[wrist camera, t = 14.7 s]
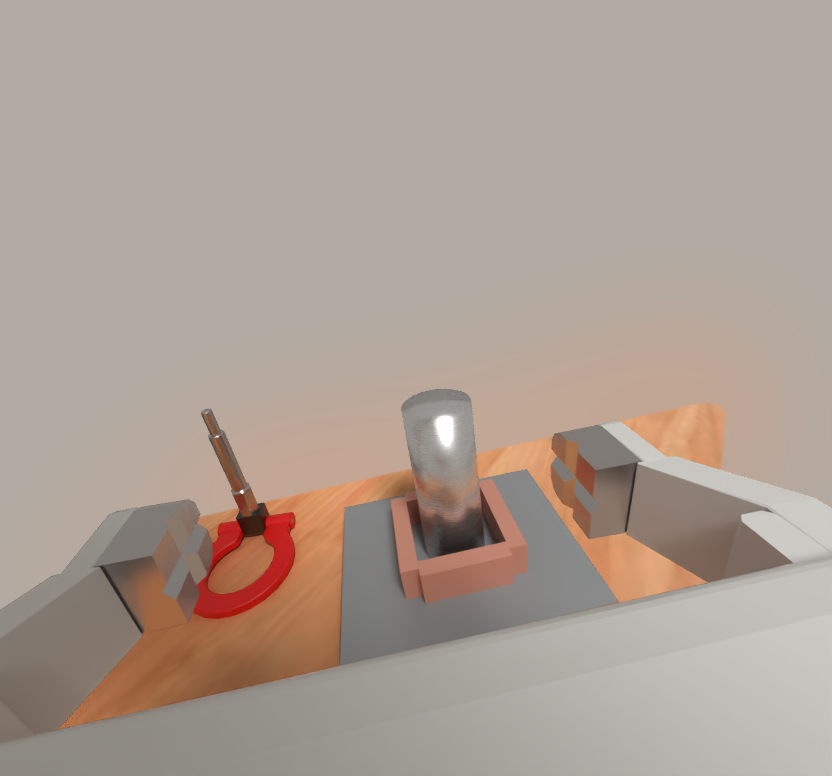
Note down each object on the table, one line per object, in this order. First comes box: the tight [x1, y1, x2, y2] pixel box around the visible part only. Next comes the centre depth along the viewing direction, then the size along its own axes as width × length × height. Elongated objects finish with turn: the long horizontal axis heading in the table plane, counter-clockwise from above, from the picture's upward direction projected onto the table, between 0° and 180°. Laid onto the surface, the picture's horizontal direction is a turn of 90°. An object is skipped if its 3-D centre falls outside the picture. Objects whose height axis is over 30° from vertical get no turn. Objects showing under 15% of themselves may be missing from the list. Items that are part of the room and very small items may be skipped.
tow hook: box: [193, 409, 295, 619], centre depth 30 cm, size 8×13×9 cm
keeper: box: [340, 469, 619, 666], centre depth 29 cm, size 17×14×4 cm
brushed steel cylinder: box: [401, 389, 485, 559], centre depth 27 cm, size 4×4×12 cm
